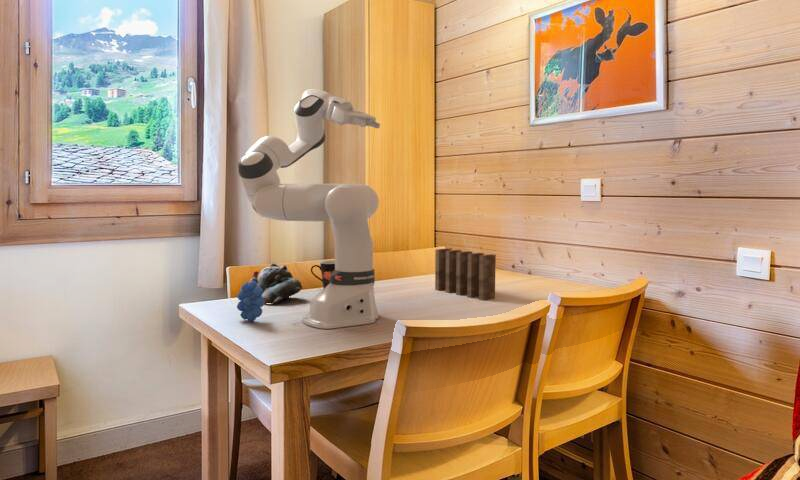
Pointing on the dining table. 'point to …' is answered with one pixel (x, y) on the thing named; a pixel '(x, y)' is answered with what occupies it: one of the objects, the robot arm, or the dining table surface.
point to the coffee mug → (325, 267)
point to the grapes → (250, 301)
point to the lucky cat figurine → (276, 283)
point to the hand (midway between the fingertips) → (372, 125)
